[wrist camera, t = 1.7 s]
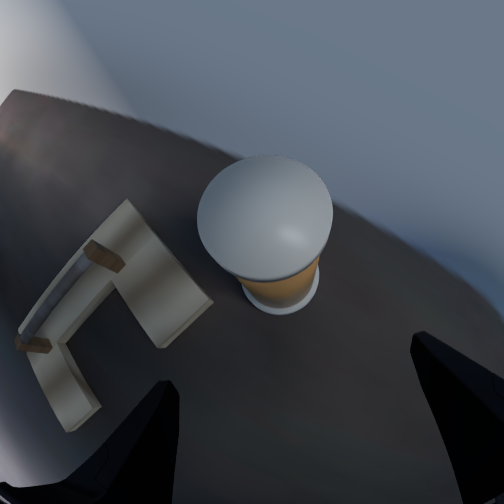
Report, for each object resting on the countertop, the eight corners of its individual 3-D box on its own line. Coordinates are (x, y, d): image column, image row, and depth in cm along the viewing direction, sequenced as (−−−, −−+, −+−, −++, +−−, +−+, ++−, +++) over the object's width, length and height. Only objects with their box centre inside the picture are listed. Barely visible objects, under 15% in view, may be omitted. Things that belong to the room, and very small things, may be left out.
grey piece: (214, 302, 23) (187, 287, 17) (75, 430, 20) (36, 438, 15) (133, 205, 28) (103, 175, 22) (26, 331, 25) (-9, 323, 20)
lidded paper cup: (322, 311, 21) (349, 273, 10) (244, 318, 22) (191, 288, 11) (313, 238, 24) (323, 145, 12) (241, 246, 24) (195, 162, 13)
